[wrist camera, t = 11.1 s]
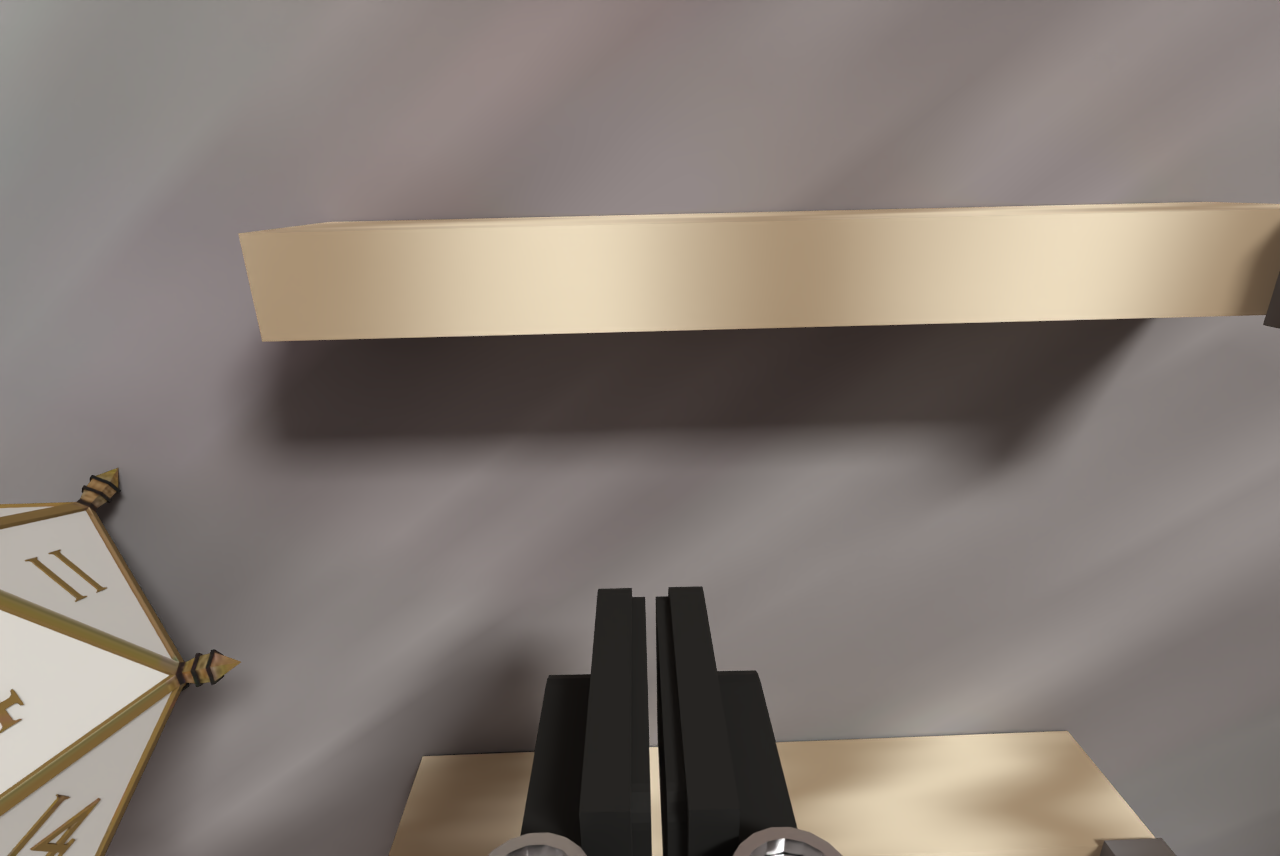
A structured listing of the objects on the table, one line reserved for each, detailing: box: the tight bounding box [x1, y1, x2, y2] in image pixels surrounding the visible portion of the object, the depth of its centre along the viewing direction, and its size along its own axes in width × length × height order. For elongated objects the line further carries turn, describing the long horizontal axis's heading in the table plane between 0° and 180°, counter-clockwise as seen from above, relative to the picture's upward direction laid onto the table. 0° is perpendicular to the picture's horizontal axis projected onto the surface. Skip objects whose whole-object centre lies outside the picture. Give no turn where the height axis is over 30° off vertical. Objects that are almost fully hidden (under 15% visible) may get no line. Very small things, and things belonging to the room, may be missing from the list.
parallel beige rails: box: [239, 202, 1280, 856], centre depth 13 cm, size 16×14×4 cm
